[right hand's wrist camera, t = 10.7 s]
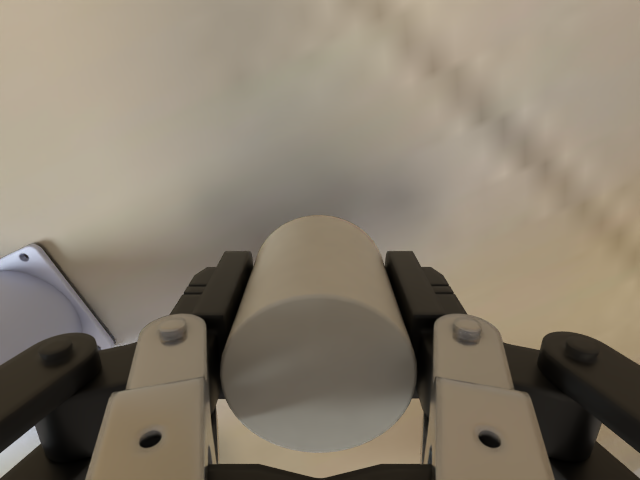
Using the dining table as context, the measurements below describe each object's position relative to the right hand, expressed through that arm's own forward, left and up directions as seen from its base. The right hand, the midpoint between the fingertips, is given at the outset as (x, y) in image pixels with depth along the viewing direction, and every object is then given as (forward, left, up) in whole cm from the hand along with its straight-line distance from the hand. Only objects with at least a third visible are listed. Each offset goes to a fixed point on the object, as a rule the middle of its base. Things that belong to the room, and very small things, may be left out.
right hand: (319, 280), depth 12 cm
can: (0, 0, 0) cm, 0 cm away
